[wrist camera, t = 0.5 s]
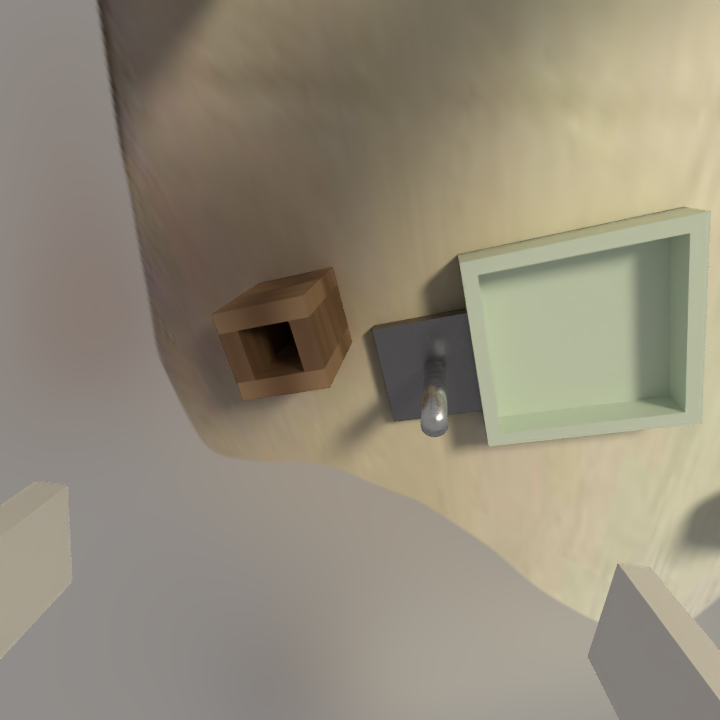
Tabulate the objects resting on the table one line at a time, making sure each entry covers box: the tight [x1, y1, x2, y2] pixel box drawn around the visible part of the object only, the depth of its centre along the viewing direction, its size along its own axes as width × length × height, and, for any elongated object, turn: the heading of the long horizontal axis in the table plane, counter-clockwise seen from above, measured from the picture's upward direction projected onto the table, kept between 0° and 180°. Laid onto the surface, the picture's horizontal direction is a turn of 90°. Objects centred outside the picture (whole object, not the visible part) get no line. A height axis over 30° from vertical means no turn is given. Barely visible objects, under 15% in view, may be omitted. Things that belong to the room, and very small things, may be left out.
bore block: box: [211, 267, 352, 401], centre depth 31 cm, size 6×6×8 cm
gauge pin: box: [372, 309, 483, 437], centre depth 31 cm, size 8×8×9 cm
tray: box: [458, 207, 711, 447], centre depth 31 cm, size 14×14×3 cm
